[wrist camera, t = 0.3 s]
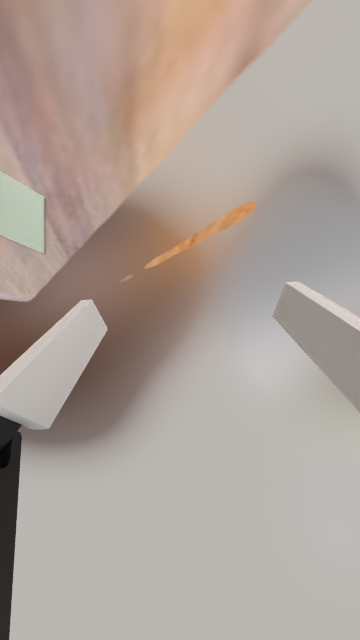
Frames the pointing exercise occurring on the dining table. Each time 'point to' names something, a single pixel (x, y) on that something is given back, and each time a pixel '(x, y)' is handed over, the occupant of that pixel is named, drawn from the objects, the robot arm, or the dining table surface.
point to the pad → (22, 214)
